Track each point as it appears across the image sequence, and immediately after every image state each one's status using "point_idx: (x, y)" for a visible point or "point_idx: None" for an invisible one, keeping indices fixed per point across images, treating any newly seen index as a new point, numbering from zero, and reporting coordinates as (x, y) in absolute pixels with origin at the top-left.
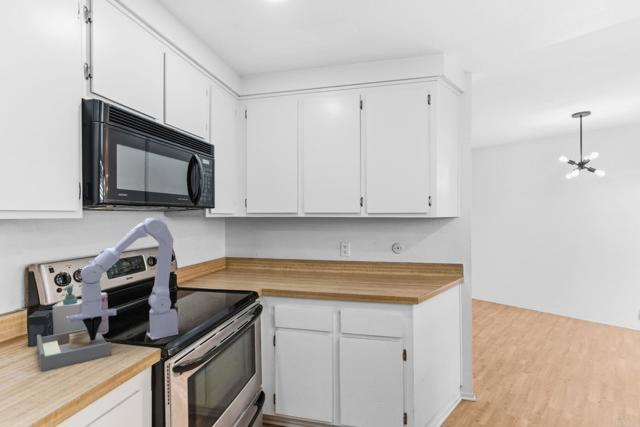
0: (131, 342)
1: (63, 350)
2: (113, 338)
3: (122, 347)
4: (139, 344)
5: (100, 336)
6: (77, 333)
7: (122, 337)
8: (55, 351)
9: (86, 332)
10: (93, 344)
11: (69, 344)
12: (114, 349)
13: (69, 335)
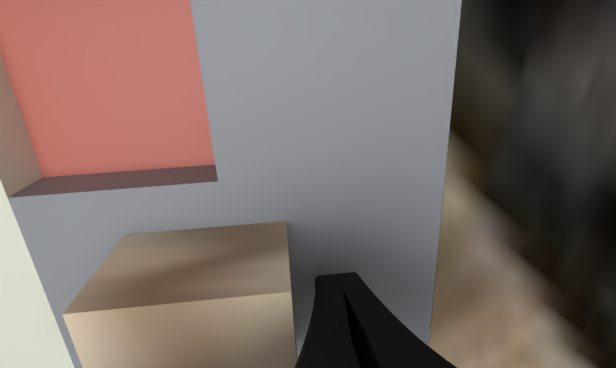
0: (581, 283)
1: None
2: (528, 85)
3: (495, 344)
4: (595, 347)
5: (429, 139)
6: (174, 329)
7: (596, 110)
8: (27, 346)
9: (286, 346)
10: None
11: (122, 224)
12: (444, 353)
13: (75, 333)
